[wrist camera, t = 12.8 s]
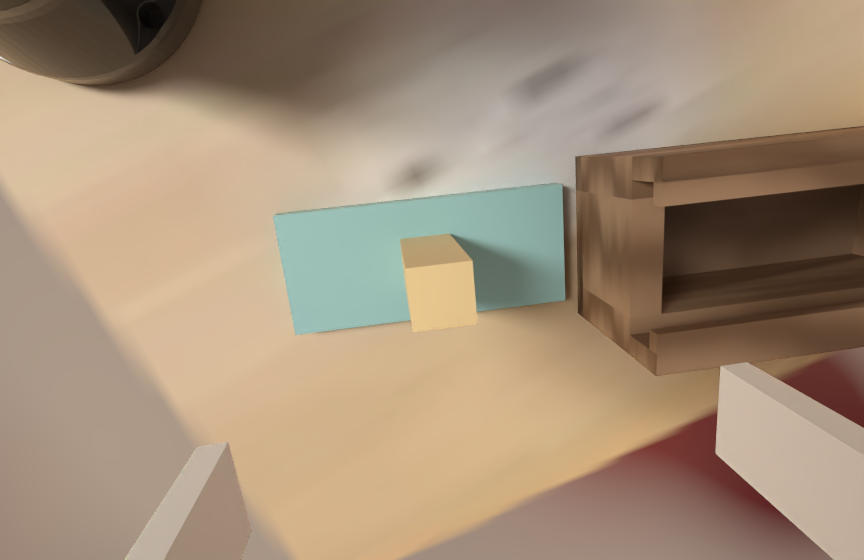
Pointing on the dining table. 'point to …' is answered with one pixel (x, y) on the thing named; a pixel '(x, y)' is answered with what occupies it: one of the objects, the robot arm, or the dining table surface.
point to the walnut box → (724, 249)
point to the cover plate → (370, 260)
